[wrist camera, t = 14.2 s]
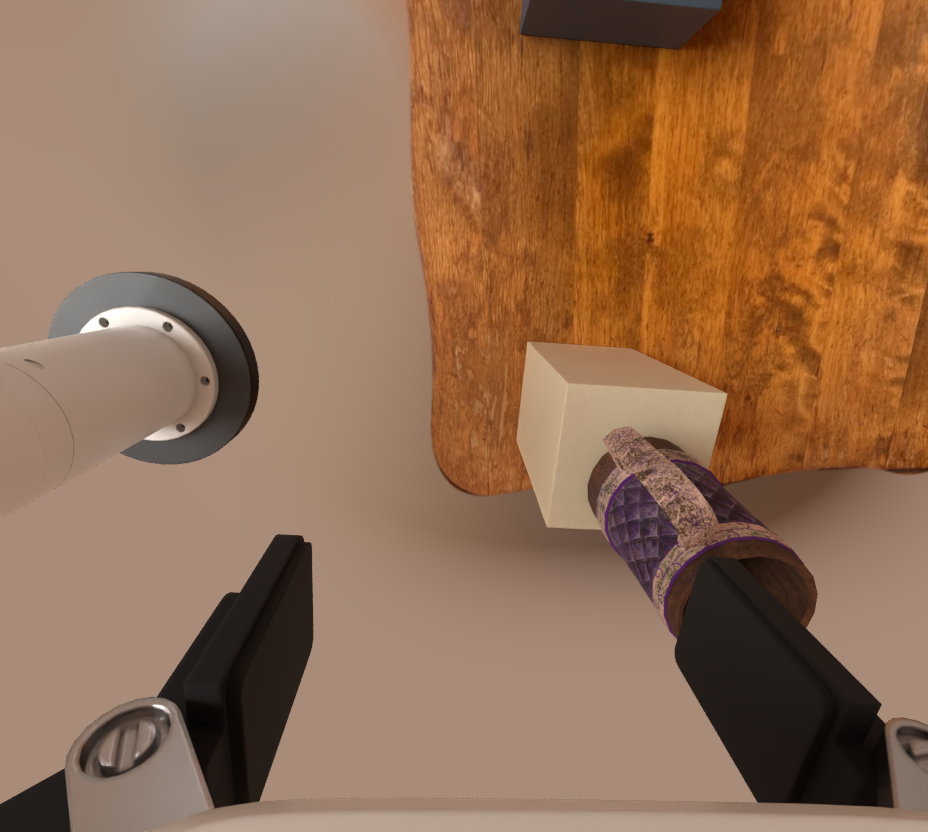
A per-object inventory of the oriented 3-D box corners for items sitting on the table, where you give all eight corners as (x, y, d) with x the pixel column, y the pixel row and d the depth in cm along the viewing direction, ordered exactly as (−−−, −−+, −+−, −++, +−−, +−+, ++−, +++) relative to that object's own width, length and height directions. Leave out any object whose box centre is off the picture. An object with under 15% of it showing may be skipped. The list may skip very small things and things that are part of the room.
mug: (709, 500, 31) (861, 640, 19) (612, 548, 32) (702, 709, 20) (646, 370, 28) (781, 445, 16) (542, 428, 29) (601, 536, 17)
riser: (516, 440, 46) (546, 527, 31) (527, 341, 43) (567, 383, 28) (614, 446, 47) (692, 535, 31) (632, 348, 43) (728, 393, 28)
